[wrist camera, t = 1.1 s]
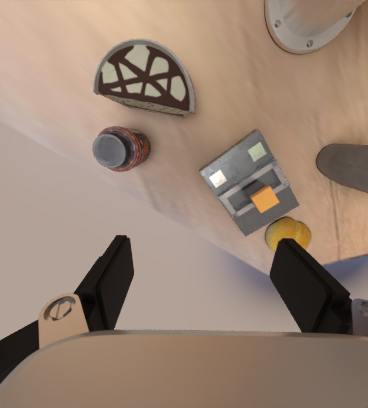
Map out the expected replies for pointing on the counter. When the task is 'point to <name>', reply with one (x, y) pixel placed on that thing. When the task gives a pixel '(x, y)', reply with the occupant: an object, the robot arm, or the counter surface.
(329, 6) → the robot arm
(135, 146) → the supplement bottle
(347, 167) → the flask
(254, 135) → the panel
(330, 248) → the counter surface
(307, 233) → the bread roll
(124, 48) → the food container
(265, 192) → the lever
